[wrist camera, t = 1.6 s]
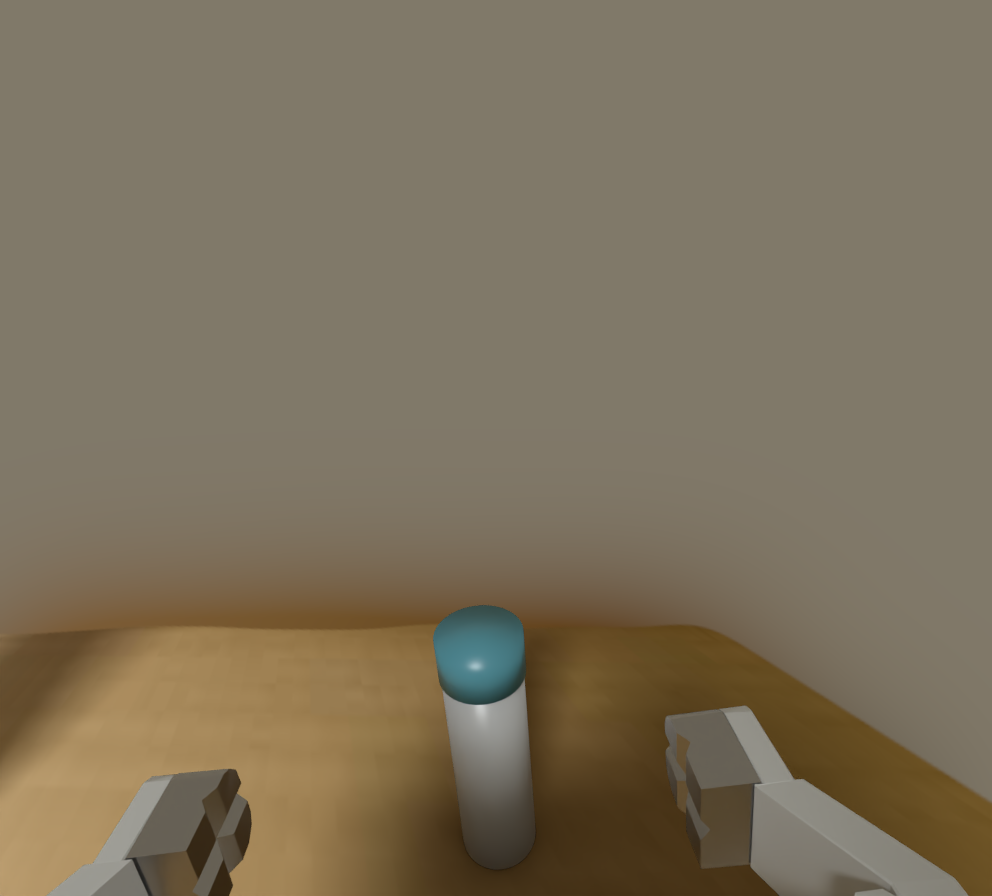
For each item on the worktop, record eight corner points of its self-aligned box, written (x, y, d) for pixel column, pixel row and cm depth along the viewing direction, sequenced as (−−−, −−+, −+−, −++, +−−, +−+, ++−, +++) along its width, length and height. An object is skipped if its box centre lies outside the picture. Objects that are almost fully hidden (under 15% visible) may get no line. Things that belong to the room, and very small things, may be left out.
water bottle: (458, 874, 26) (428, 668, 22) (462, 798, 30) (437, 608, 26) (540, 869, 26) (526, 661, 22) (534, 793, 30) (521, 602, 26)
